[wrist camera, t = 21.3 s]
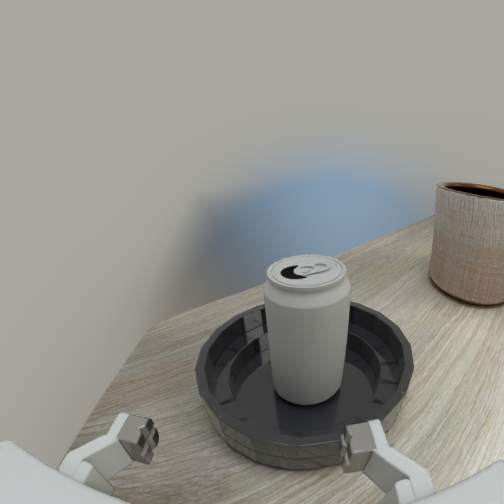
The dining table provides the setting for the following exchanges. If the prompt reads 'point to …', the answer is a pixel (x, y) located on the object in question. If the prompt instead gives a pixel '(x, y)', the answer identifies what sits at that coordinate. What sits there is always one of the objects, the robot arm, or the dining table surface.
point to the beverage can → (307, 326)
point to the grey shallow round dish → (295, 415)
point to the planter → (469, 242)
